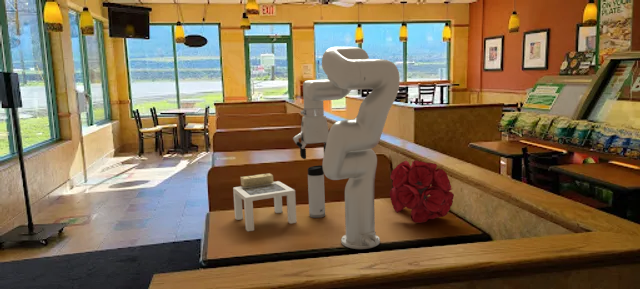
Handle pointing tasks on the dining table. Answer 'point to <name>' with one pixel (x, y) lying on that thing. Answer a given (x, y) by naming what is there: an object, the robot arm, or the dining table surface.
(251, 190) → the trapdoor
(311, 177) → the travel mug
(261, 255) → the dining table surface
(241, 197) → the stand
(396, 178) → the bouquet
